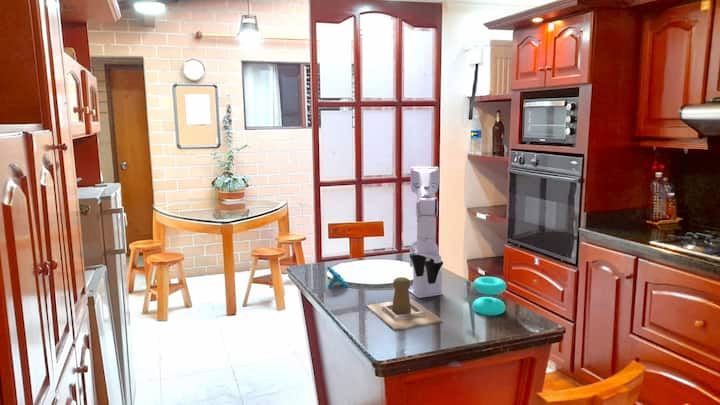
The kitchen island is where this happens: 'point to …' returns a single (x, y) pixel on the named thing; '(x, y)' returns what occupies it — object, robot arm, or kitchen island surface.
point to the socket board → (404, 315)
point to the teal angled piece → (336, 278)
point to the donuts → (489, 303)
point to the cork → (401, 296)
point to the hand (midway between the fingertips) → (425, 279)
